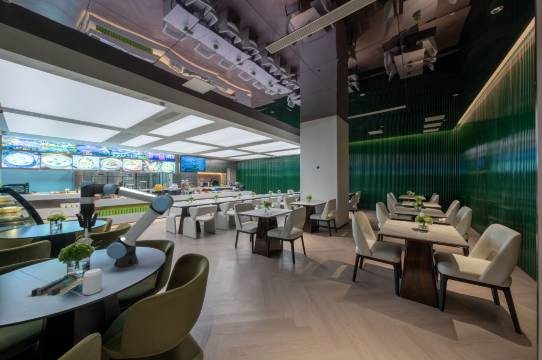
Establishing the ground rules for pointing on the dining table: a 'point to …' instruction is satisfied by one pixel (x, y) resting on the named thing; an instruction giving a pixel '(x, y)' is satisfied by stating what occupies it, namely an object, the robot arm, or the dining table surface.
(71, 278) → the teal-banded grey bar
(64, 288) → the board
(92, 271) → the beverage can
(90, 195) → the robot arm
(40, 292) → the tongs arm
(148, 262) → the dining table surface
